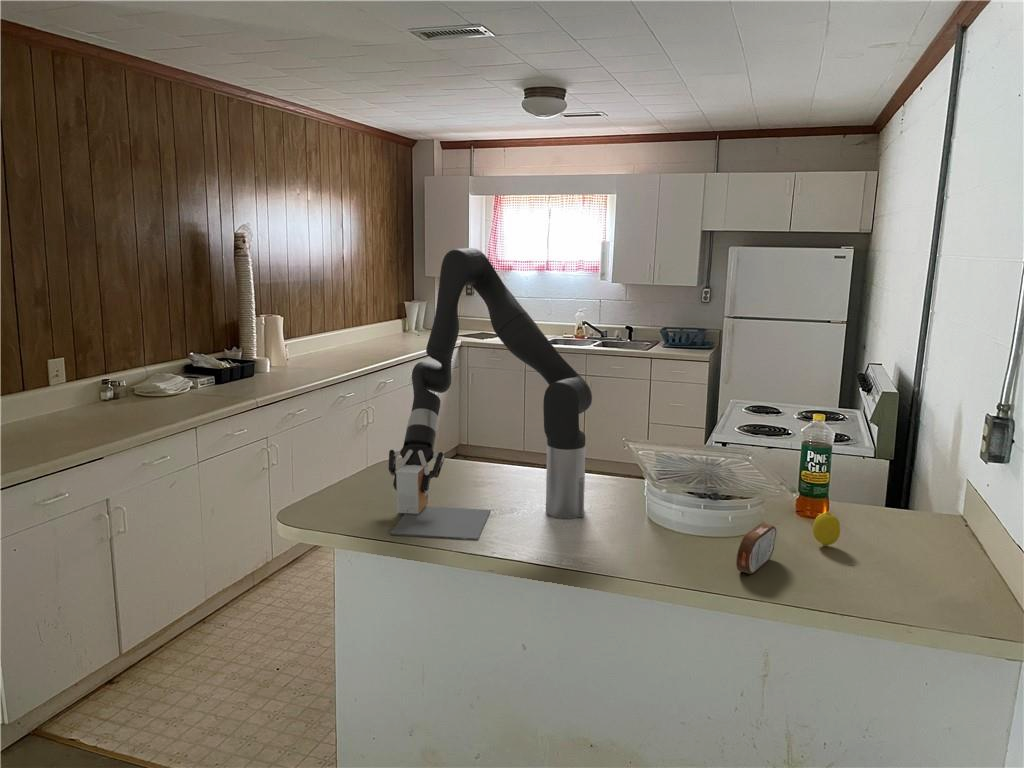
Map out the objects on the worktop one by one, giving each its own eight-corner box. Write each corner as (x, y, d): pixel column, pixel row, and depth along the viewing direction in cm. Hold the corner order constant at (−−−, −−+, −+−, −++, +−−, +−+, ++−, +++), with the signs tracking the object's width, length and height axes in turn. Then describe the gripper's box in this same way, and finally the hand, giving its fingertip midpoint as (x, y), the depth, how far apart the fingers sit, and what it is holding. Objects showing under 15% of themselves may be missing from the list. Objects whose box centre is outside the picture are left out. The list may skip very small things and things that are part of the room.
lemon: (822, 552, 164) (825, 517, 162) (806, 542, 169) (809, 508, 168) (844, 550, 165) (847, 515, 164) (827, 540, 171) (830, 506, 169)
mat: (490, 511, 187) (490, 509, 186) (477, 540, 169) (478, 538, 169) (411, 507, 189) (411, 505, 189) (390, 534, 172) (390, 533, 171)
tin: (762, 553, 163) (765, 516, 162) (777, 557, 161) (780, 519, 160) (733, 577, 152) (736, 537, 150) (748, 581, 150) (751, 541, 148)
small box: (418, 515, 182) (418, 473, 180) (396, 513, 184) (395, 471, 182) (428, 503, 190) (428, 463, 188) (407, 502, 191) (406, 461, 189)
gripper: (390, 421, 191) (377, 482, 181) (447, 424, 189) (436, 485, 180) (397, 436, 197) (384, 496, 188) (451, 439, 195) (441, 499, 186)
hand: (410, 490), depth 184 cm, fingers closed on small box, 6 cm apart
